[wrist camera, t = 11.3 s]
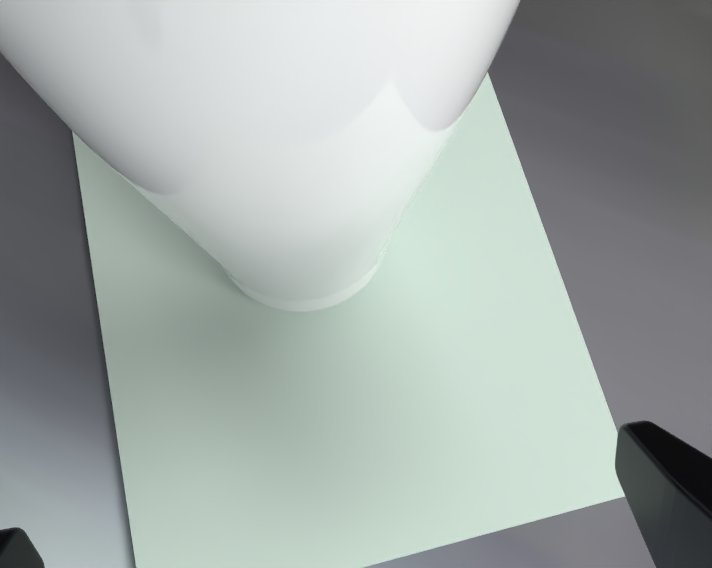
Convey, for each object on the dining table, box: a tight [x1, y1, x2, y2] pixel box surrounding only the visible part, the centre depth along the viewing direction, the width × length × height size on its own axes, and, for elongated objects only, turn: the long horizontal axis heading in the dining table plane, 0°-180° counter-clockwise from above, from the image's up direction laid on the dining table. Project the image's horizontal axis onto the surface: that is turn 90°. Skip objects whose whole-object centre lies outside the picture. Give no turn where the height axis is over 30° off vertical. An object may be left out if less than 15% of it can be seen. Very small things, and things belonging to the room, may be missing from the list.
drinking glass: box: [0, 0, 521, 312], centre depth 12 cm, size 7×7×15 cm
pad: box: [72, 72, 625, 568], centre depth 19 cm, size 20×14×1 cm
